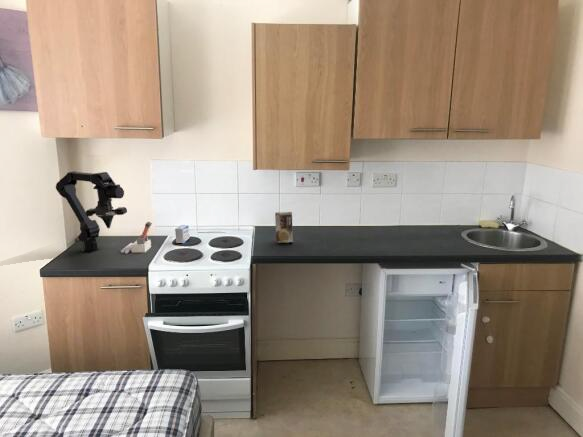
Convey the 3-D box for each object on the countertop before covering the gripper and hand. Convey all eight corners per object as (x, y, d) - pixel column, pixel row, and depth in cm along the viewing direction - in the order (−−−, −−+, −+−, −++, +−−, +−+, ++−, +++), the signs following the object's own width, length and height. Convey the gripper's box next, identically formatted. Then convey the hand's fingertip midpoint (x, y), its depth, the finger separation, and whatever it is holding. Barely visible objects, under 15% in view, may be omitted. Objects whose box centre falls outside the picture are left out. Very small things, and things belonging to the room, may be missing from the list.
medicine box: (183, 244, 242) (182, 228, 240) (176, 244, 243) (174, 228, 241) (189, 240, 249) (188, 225, 247) (182, 239, 250) (181, 224, 248)
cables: (127, 254, 227) (126, 251, 227) (119, 254, 228) (118, 251, 227) (137, 245, 242) (137, 242, 241) (130, 245, 242) (130, 242, 242)
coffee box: (292, 240, 245) (292, 211, 241) (293, 244, 239) (292, 214, 235) (276, 240, 245) (275, 212, 241) (275, 244, 239) (275, 214, 235)
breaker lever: (139, 240, 231) (145, 223, 229) (141, 238, 235) (148, 221, 232) (142, 242, 231) (149, 224, 229) (144, 240, 235) (151, 223, 232)
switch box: (131, 252, 230) (130, 239, 228) (138, 247, 239) (136, 234, 237) (145, 252, 230) (143, 239, 228) (151, 246, 239) (149, 234, 237)
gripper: (78, 201, 215) (83, 233, 219) (117, 200, 215) (121, 231, 219) (88, 197, 226) (93, 227, 230) (125, 195, 226) (129, 226, 229)
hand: (108, 228), depth 227 cm, fingers closed
